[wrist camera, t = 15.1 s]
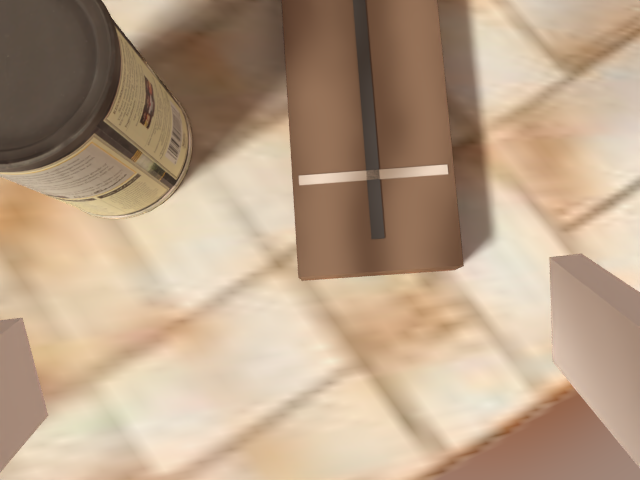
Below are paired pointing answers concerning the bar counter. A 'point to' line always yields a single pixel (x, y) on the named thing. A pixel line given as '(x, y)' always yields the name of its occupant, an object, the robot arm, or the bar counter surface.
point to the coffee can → (85, 111)
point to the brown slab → (369, 139)
